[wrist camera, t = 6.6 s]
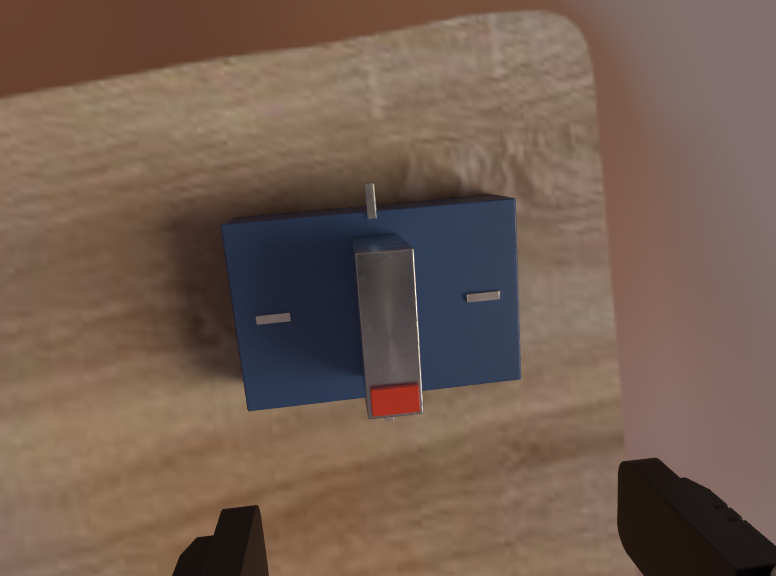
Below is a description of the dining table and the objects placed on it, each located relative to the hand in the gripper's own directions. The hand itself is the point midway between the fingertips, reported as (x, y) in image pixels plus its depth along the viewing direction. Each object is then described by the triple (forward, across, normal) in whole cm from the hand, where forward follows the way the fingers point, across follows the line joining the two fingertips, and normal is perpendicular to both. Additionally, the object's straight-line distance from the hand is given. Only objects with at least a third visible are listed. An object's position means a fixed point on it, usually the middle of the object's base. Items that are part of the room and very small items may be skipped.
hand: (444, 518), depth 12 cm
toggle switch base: (+15, 0, -2) cm, 15 cm away
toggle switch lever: (+12, 0, -2) cm, 12 cm away
